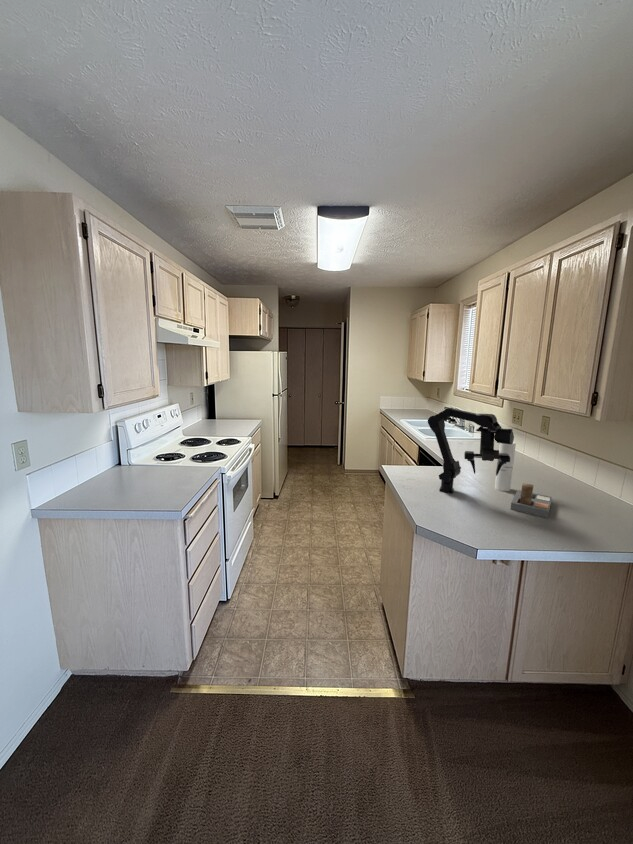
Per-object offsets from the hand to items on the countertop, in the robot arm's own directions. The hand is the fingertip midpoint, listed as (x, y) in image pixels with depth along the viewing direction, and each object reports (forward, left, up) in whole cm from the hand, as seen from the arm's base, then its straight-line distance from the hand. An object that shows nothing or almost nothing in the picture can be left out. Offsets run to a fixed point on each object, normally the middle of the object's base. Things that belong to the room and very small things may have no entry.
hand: (485, 474), depth 162 cm
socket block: (-3, +20, -13) cm, 24 cm away
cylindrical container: (-22, +9, -13) cm, 27 cm away
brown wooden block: (+1, +17, -13) cm, 22 cm away
